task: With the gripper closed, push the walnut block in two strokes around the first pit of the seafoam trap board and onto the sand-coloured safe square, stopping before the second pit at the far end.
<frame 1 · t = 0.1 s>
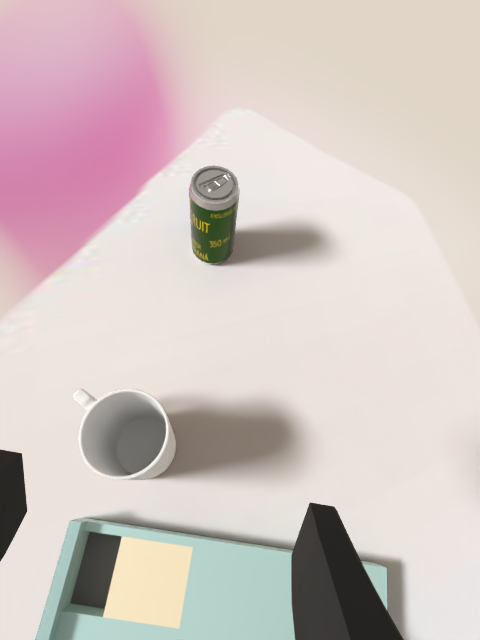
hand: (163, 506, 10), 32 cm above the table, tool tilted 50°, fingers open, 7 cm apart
mug: (135, 438, 41), on the table
beer can: (212, 250, 51), on the table
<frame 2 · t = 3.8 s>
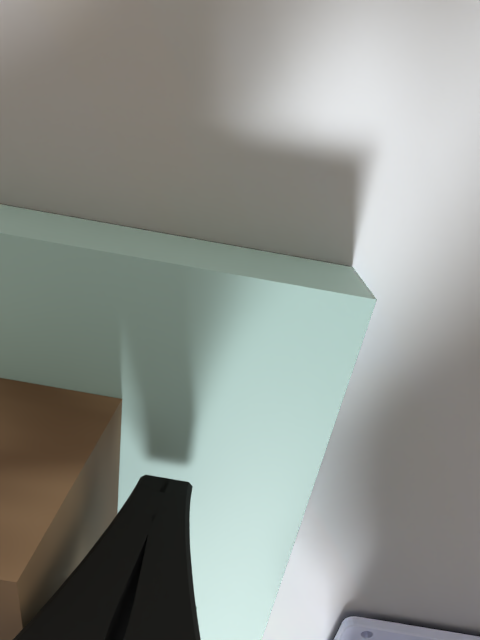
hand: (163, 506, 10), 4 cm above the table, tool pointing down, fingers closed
trap board: (73, 556, 16), on the table
walnut block: (39, 450, 11), point 3 cm above the table, touching gripper
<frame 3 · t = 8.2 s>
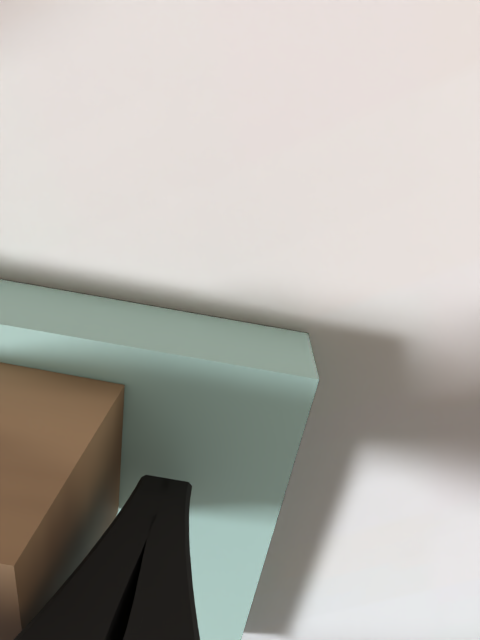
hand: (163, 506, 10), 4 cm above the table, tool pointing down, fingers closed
walnut block: (39, 438, 10), point 3 cm above the table, touching gripper
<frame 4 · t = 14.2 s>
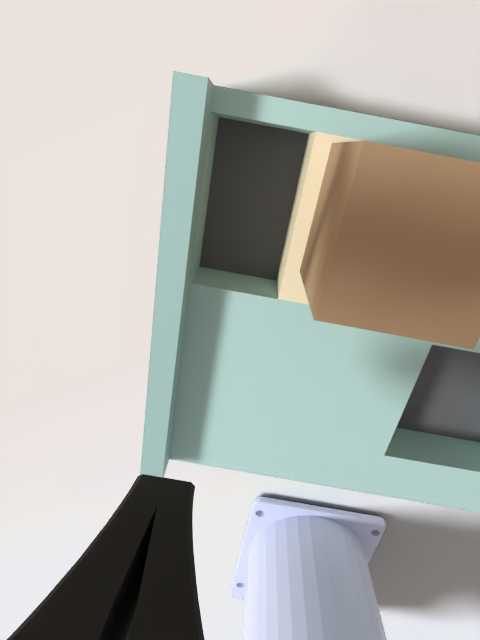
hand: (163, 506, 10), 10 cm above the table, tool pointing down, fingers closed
trap board: (479, 341, 18), on the table
walnut block: (376, 223, 14), point 2 cm above the table, touching trap board
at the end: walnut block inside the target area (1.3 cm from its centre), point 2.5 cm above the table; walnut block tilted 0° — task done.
